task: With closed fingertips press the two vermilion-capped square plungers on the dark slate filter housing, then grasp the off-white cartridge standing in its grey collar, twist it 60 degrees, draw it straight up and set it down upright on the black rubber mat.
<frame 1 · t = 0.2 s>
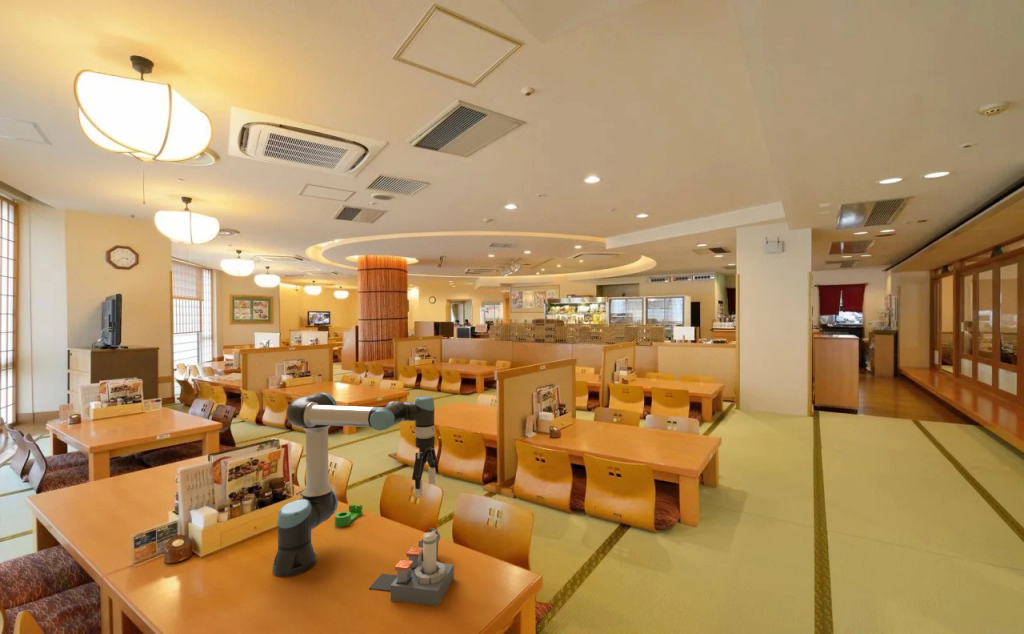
hand: (425, 490, 172), 28 cm above the table, fingers open, 13 cm apart
tape dispenser: (347, 520, 209), on the table
cartridge: (430, 575, 153), point 5 cm above the table, touching housing
plunger a: (404, 573, 150), point 7 cm above the table, slide at 0.0 cm
plunger b: (415, 559, 159), point 7 cm above the table, slide at 0.0 cm
mat: (387, 582, 157), on the table
food container: (432, 560, 172), on the table
housing: (422, 588, 154), on the table
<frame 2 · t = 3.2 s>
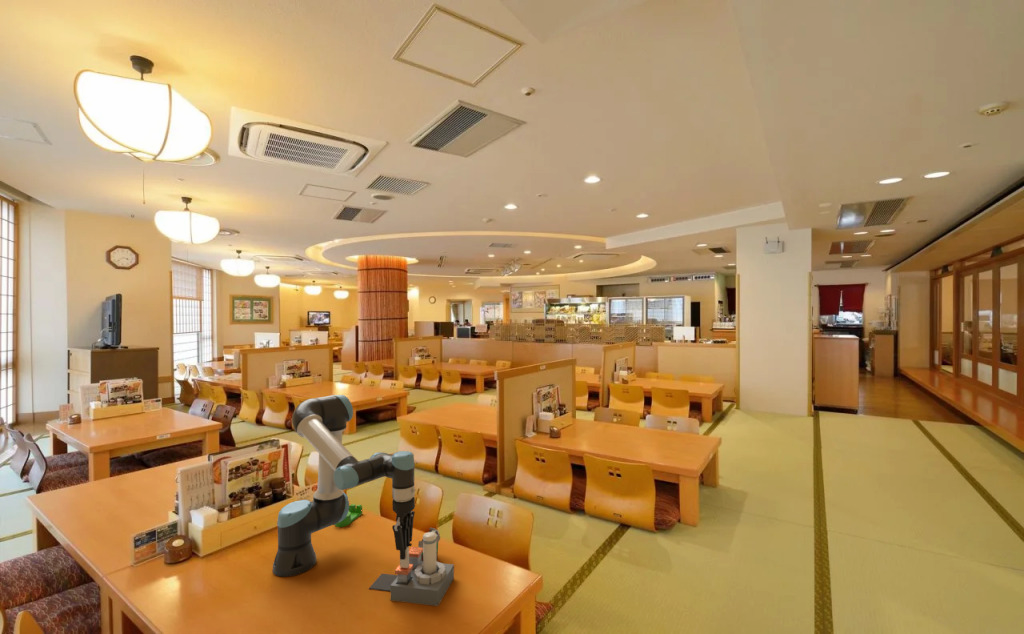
hand: (404, 566, 150), 10 cm above the table, fingers closed
plunger a: (404, 577, 150), point 6 cm above the table, slide at 1.2 cm, touching gripper
everything else where it was.
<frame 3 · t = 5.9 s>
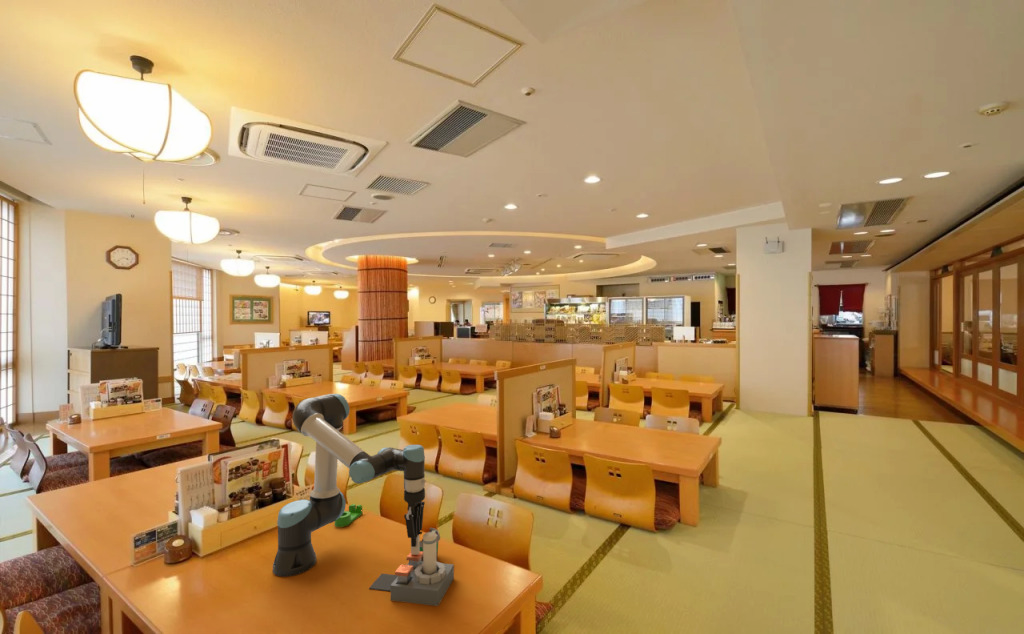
hand: (415, 553, 159), 10 cm above the table, fingers closed
plunger a: (404, 578, 150), point 6 cm above the table, slide at 1.7 cm
plunger b: (415, 563, 159), point 6 cm above the table, slide at 1.4 cm, touching gripper
everything else where it was.
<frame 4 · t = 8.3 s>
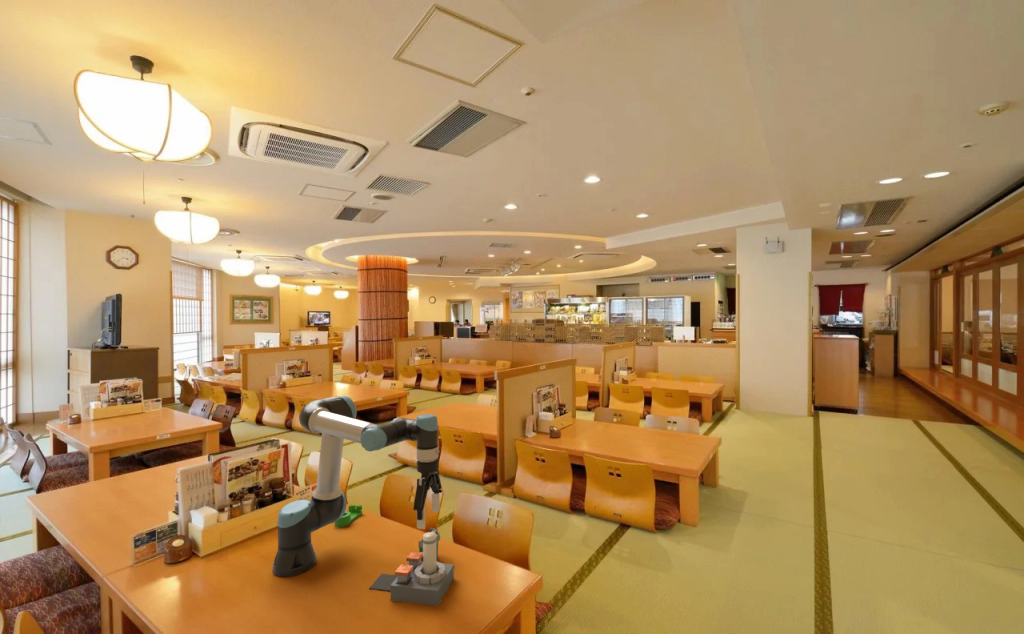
hand: (428, 519, 154), 24 cm above the table, fingers open, 13 cm apart
plunger b: (415, 564, 159), point 6 cm above the table, slide at 1.7 cm
everything else where it was.
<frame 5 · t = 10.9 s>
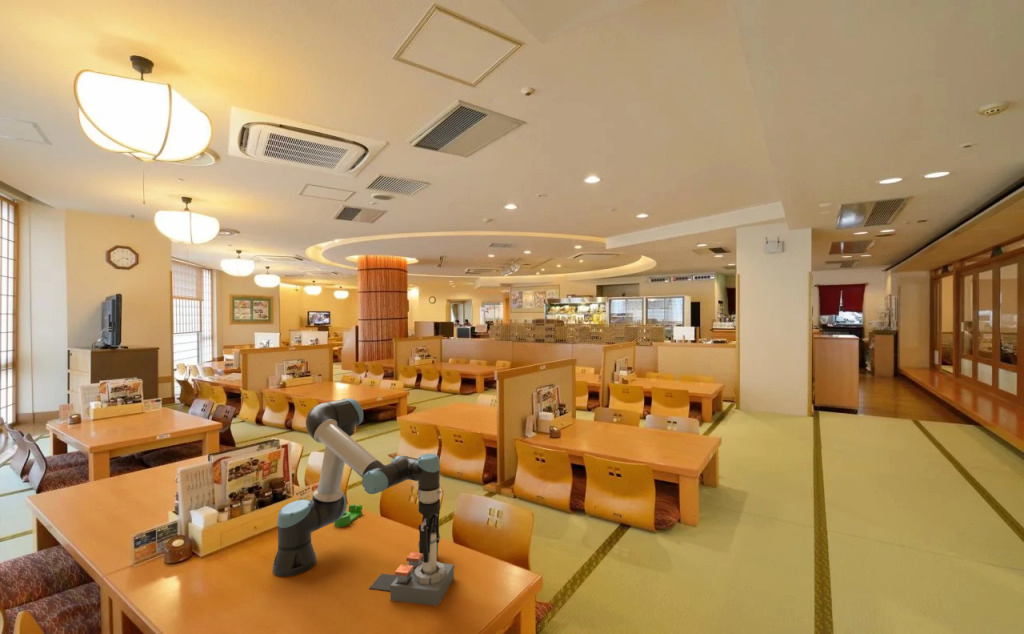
hand: (429, 566, 153), 8 cm above the table, fingers closed on cartridge, 4 cm apart
cartridge: (430, 575, 153), point 5 cm above the table, touching gripper, housing
everything else where it was.
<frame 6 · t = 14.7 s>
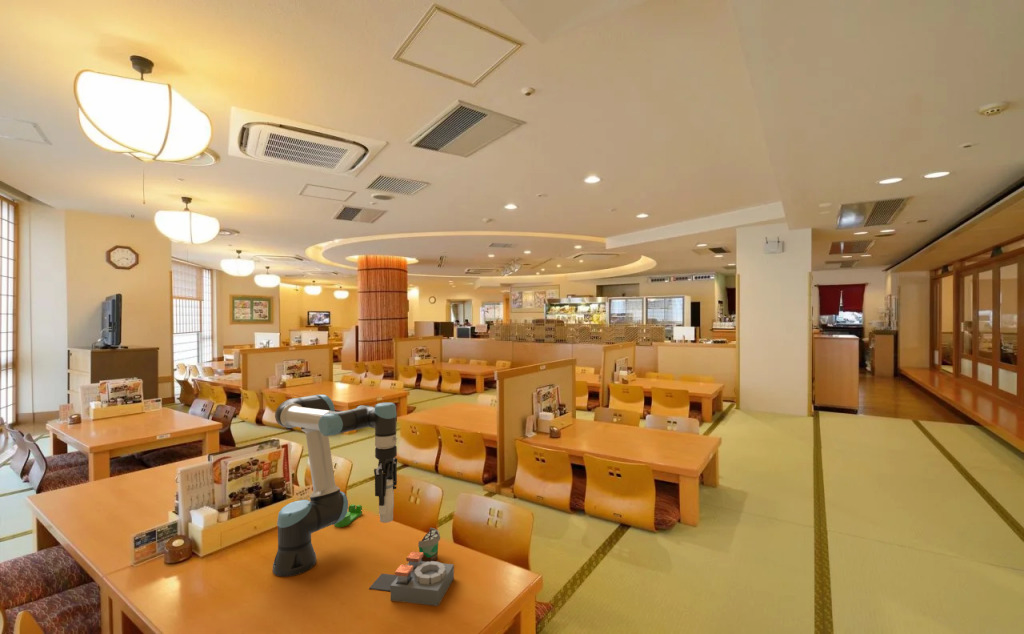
hand: (386, 510, 158), 26 cm above the table, fingers closed on cartridge, 4 cm apart
cartridge: (386, 519, 158), point 23 cm above the table, touching gripper
everything else where it was.
when the fingers open (6 cm above the table, at t = 18.6 s): cartridge stays where it is, resting on mat.
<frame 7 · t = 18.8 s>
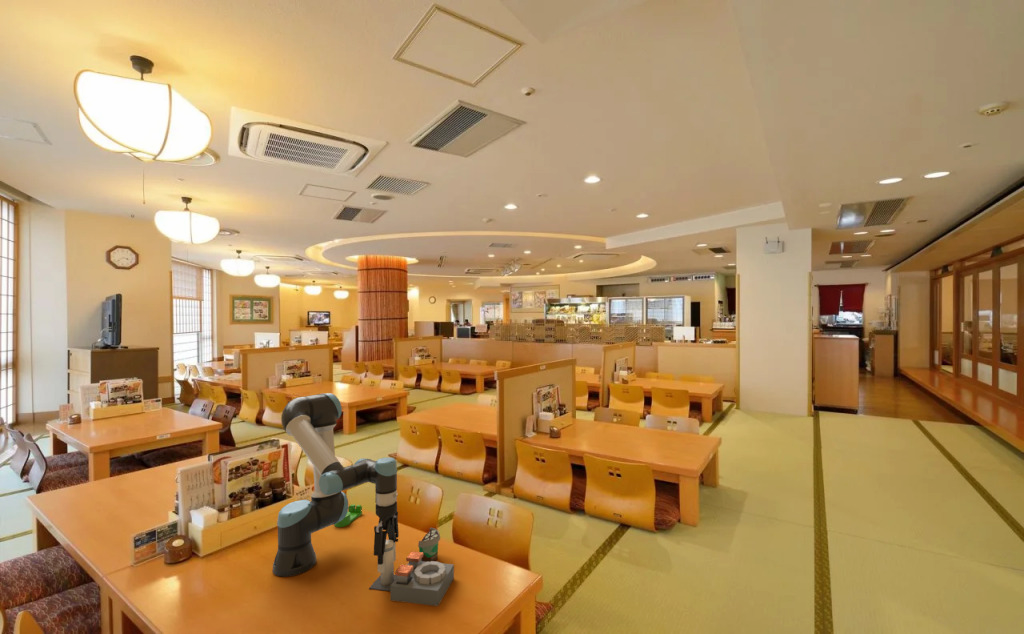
hand: (386, 566, 157), 6 cm above the table, fingers open, 7 cm apart
cartridge: (387, 581, 157), resting on mat
everything else where it was.
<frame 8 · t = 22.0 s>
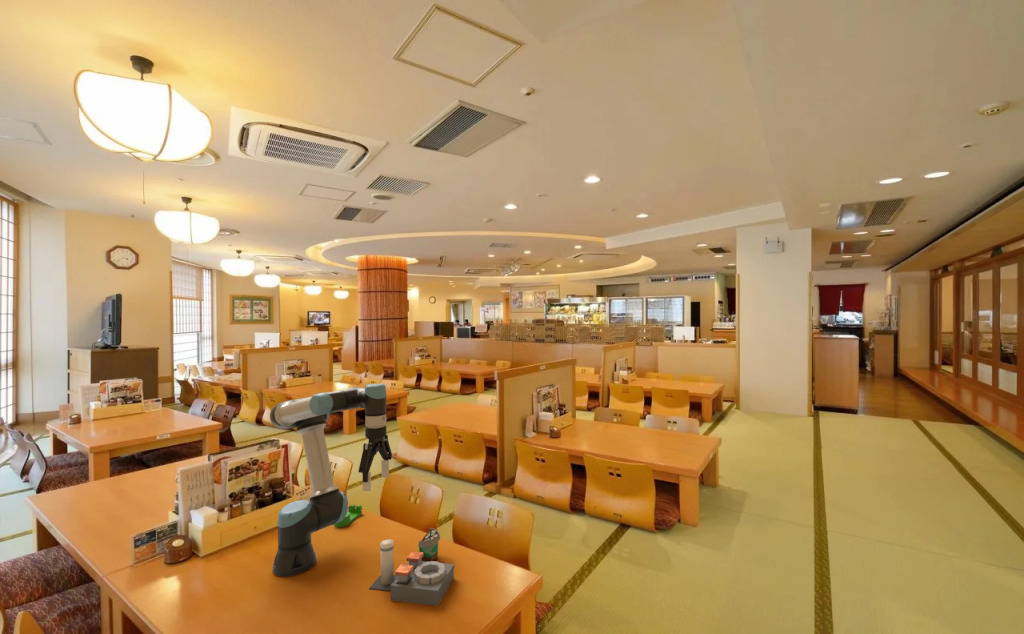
hand: (376, 483, 161), 35 cm above the table, fingers open, 13 cm apart
nothing on the table moved.
at the end: cartridge inside the target area (0.2 cm from its centre), resting on mat; cartridge tilted 0°; plunger b moved 1.7 cm from its start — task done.
